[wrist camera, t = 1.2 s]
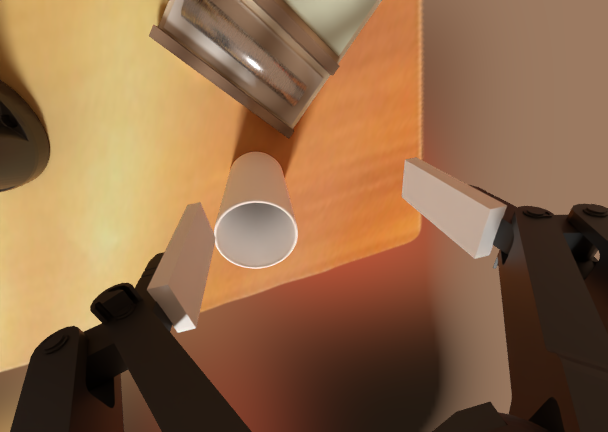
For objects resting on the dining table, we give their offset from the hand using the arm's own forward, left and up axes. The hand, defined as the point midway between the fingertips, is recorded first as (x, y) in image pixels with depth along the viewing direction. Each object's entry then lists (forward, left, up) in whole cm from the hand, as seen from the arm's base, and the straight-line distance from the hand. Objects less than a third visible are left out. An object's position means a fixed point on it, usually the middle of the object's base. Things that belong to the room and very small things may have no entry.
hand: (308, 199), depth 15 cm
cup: (+1, -8, -23) cm, 24 cm away
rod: (-8, +5, -21) cm, 23 cm away
